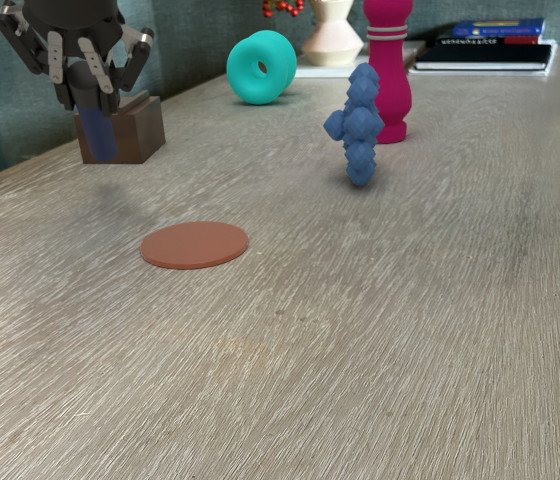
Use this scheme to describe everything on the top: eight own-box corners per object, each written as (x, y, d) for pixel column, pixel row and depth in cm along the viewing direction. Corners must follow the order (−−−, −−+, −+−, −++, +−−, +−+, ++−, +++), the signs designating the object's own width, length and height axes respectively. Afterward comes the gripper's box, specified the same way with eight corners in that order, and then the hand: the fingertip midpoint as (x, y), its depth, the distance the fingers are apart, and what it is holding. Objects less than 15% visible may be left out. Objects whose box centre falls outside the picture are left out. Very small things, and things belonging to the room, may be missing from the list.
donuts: (299, 93, 116) (297, 28, 110) (286, 106, 108) (284, 37, 102) (243, 93, 118) (239, 29, 112) (227, 106, 110) (221, 38, 104)
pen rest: (142, 163, 85) (133, 107, 81) (82, 163, 86) (71, 107, 82) (165, 141, 93) (158, 89, 89) (111, 141, 94) (102, 90, 91)
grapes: (327, 163, 82) (327, 56, 75) (383, 163, 81) (388, 54, 74) (318, 196, 72) (316, 76, 65) (381, 196, 71) (386, 75, 64)
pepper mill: (421, 137, 89) (433, -39, 78) (380, 148, 86) (387, -34, 75) (384, 127, 94) (391, -39, 83) (344, 137, 91) (346, -35, 80)
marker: (96, 93, 63) (104, 64, 63) (62, 85, 62) (70, 56, 63) (114, 165, 75) (121, 140, 76) (85, 158, 75) (92, 133, 76)
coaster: (157, 278, 57) (156, 273, 57) (129, 238, 65) (128, 233, 64) (265, 254, 60) (264, 249, 60) (225, 218, 68) (225, 214, 68)
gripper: (162, -69, 53) (167, 93, 69) (-19, -108, 52) (29, 65, 68) (143, -2, 50) (153, 151, 66) (-49, -42, 49) (8, 123, 65)
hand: (90, 107), depth 67 cm, fingers closed on marker, 3 cm apart
